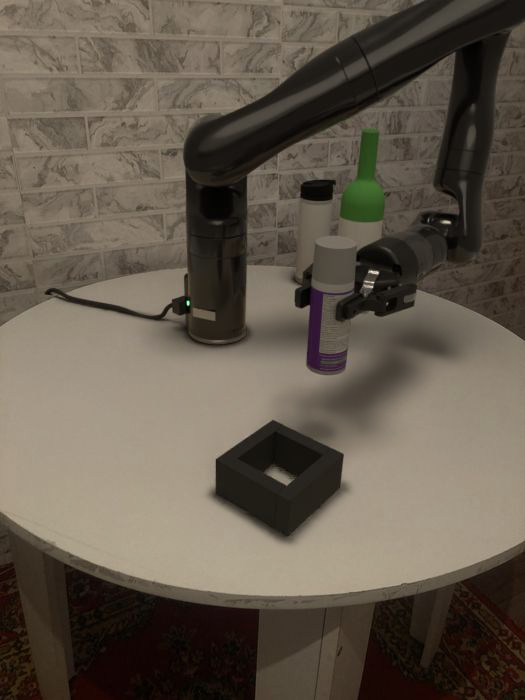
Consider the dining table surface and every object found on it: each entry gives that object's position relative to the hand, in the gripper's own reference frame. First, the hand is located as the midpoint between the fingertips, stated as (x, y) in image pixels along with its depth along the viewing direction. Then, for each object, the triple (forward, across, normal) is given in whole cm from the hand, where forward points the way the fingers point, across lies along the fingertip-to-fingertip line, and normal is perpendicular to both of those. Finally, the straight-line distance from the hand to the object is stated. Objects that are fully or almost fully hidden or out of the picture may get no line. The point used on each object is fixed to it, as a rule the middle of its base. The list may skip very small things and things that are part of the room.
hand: (318, 306), depth 64 cm
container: (-3, 0, +9) cm, 9 cm away
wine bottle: (-43, -19, +18) cm, 50 cm away
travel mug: (-45, -30, +18) cm, 57 cm away
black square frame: (+10, +3, +18) cm, 20 cm away
